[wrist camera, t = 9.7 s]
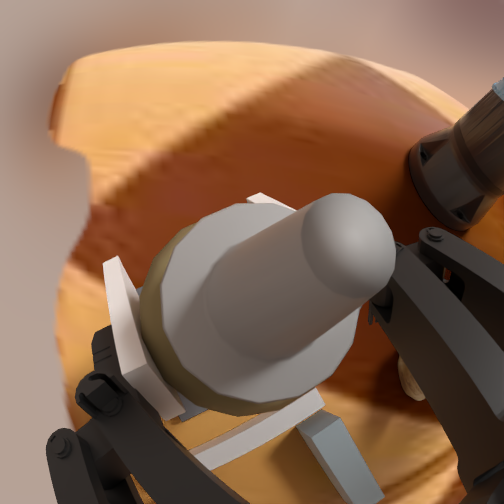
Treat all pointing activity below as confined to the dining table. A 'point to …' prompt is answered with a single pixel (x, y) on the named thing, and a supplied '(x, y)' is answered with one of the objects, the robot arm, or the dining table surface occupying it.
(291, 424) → the grey u-shaped frame
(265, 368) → the squeeze bottle
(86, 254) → the dining table surface
